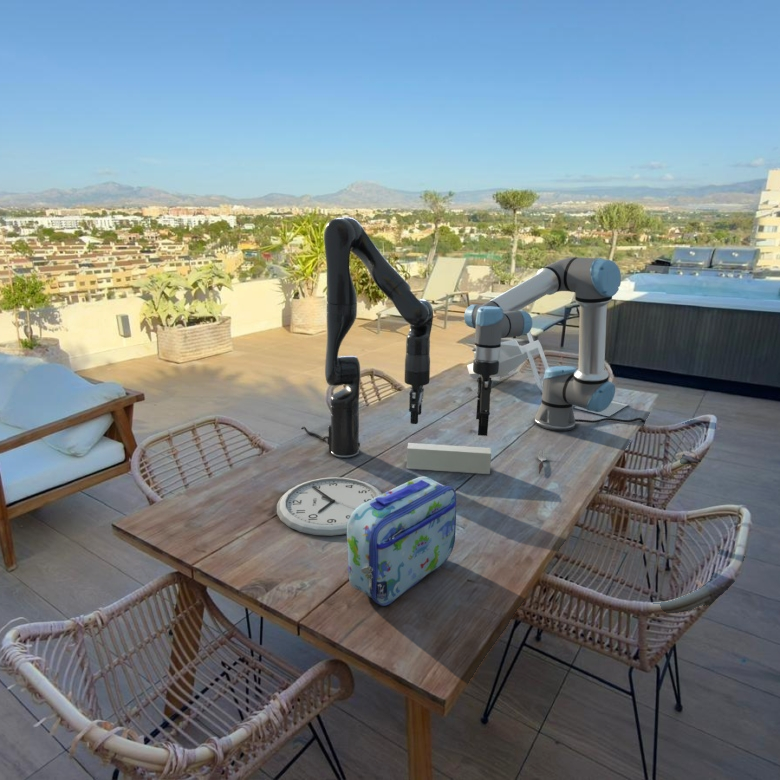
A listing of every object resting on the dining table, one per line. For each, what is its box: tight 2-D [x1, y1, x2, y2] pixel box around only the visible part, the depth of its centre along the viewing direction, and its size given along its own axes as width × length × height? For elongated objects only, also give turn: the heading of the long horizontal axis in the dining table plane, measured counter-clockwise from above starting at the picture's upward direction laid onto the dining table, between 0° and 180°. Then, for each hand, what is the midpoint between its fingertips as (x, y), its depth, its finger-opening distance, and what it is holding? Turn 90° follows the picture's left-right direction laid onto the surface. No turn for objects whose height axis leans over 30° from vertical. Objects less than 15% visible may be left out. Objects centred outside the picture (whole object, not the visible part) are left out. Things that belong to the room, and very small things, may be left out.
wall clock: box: [276, 476, 384, 537], centre depth 142 cm, size 30×2×30 cm
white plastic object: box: [466, 308, 550, 392], centre depth 255 cm, size 37×45×31 cm
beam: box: [406, 442, 492, 475], centre depth 165 cm, size 26×4×7 cm, turn 83°
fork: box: [538, 449, 548, 474], centre depth 169 cm, size 3×16×2 cm, turn 160°
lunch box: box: [346, 475, 457, 607], centre depth 111 cm, size 26×11×21 cm, turn 134°
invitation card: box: [573, 400, 629, 418], centre depth 226 cm, size 21×1×15 cm
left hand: (415, 418), depth 161 cm, fingers open, 8 cm apart
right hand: (481, 426), depth 161 cm, fingers open, 13 cm apart
